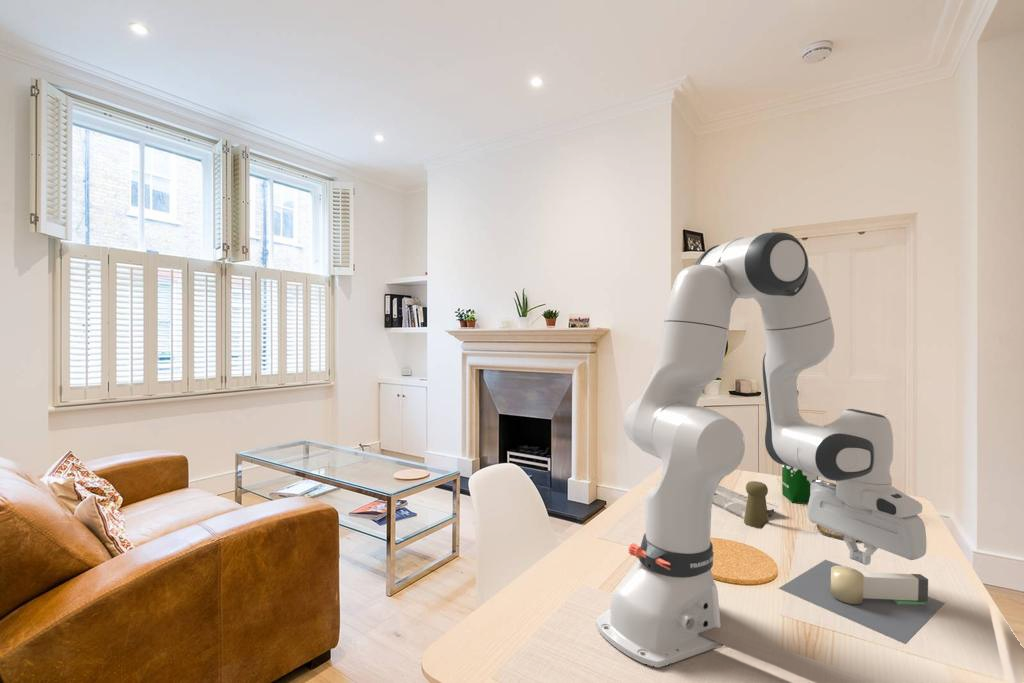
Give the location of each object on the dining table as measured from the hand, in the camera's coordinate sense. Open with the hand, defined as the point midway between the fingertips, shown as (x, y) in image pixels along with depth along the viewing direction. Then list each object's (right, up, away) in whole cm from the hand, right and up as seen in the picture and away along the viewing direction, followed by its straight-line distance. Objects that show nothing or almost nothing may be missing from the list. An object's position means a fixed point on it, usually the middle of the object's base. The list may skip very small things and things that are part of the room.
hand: (859, 561), depth 96 cm
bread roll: (+15, -6, +27) cm, 31 cm away
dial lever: (-1, -4, -5) cm, 7 cm away
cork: (-4, -5, +33) cm, 33 cm away
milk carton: (+18, -4, +50) cm, 54 cm away
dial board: (-3, -6, -4) cm, 8 cm away
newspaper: (-5, -5, +53) cm, 53 cm away
